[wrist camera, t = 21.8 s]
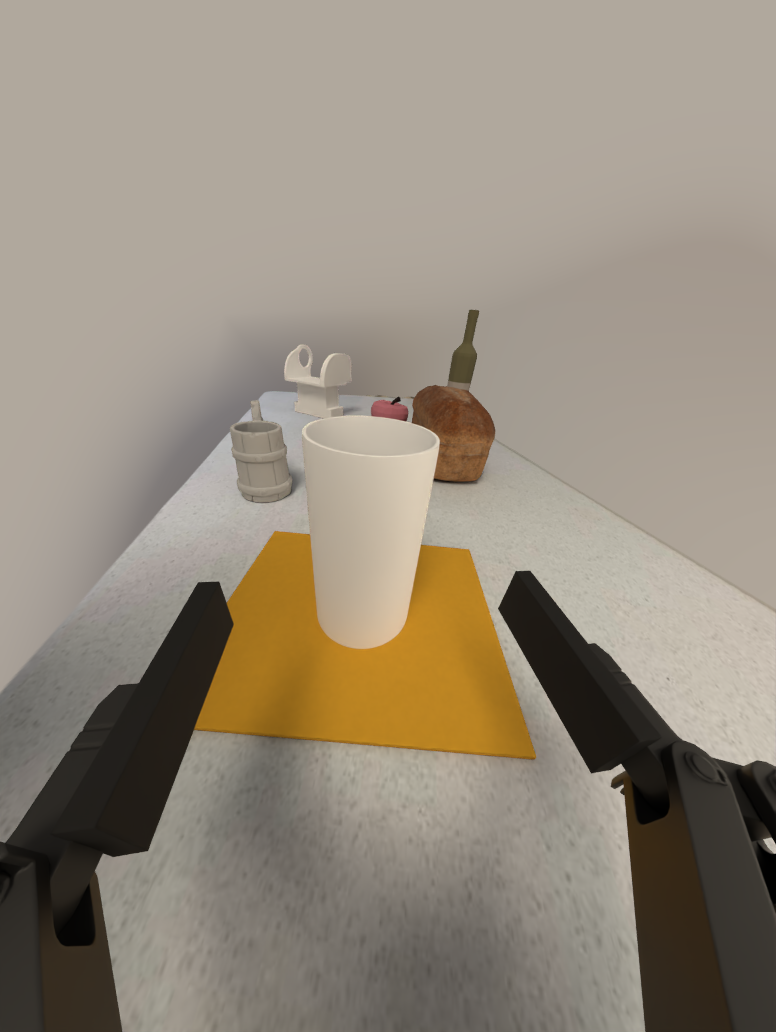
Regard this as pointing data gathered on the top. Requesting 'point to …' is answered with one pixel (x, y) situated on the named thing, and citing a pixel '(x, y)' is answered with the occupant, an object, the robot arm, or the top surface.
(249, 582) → the cloth
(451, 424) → the bread
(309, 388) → the white holder stand
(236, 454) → the mug
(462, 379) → the bottle
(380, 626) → the cup
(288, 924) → the top surface
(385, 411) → the apple
